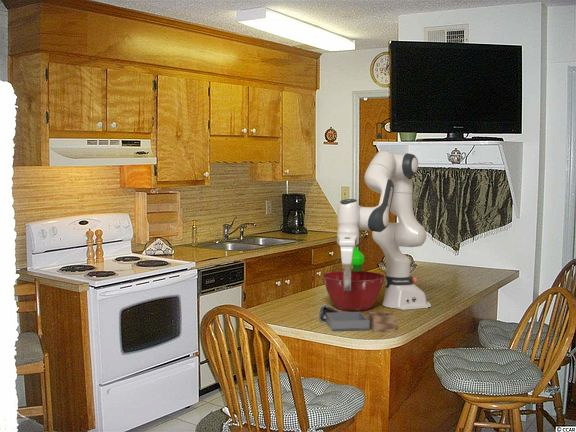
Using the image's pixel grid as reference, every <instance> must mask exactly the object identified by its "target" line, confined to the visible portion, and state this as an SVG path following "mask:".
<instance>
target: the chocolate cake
mask: <svg viewBox="0 0 576 432" xmlns="http://www.w3.org/2000/svg"><path fill="white" fill-rule="evenodd" d="M334 312H340V311H339V310H336V309H335V308H333V307H331V306H328V305H327V304H324V303H322V304H321V308H320V310H319V313H318V315H319V316H318V317H319V318H318V319H319V321H320V322H321V323H326V313H334Z"/></svg>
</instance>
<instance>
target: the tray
mask: <svg viewBox="0 0 576 432" xmlns="http://www.w3.org/2000/svg"><path fill="white" fill-rule="evenodd" d="M325 324H327V326H328V327H329V329H330V330H331V331H332V332H355V331H356V332H357V331H358V332H360V331H362V332H363V331H370V320H369V319H368V316H366V315H365V314H364V313H362V311H341V312H340V311H339V312H334V313H326V322H325Z"/></svg>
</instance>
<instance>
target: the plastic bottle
mask: <svg viewBox="0 0 576 432" xmlns="http://www.w3.org/2000/svg"><path fill="white" fill-rule="evenodd" d="M359 246H360V243H359V244H357V245H356V248H354V250H353V259H352V263H351V265H353V269H351V271H363V264H364V262H365V255H364V254H363V253H362V252H361V251H360V250H359Z"/></svg>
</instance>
